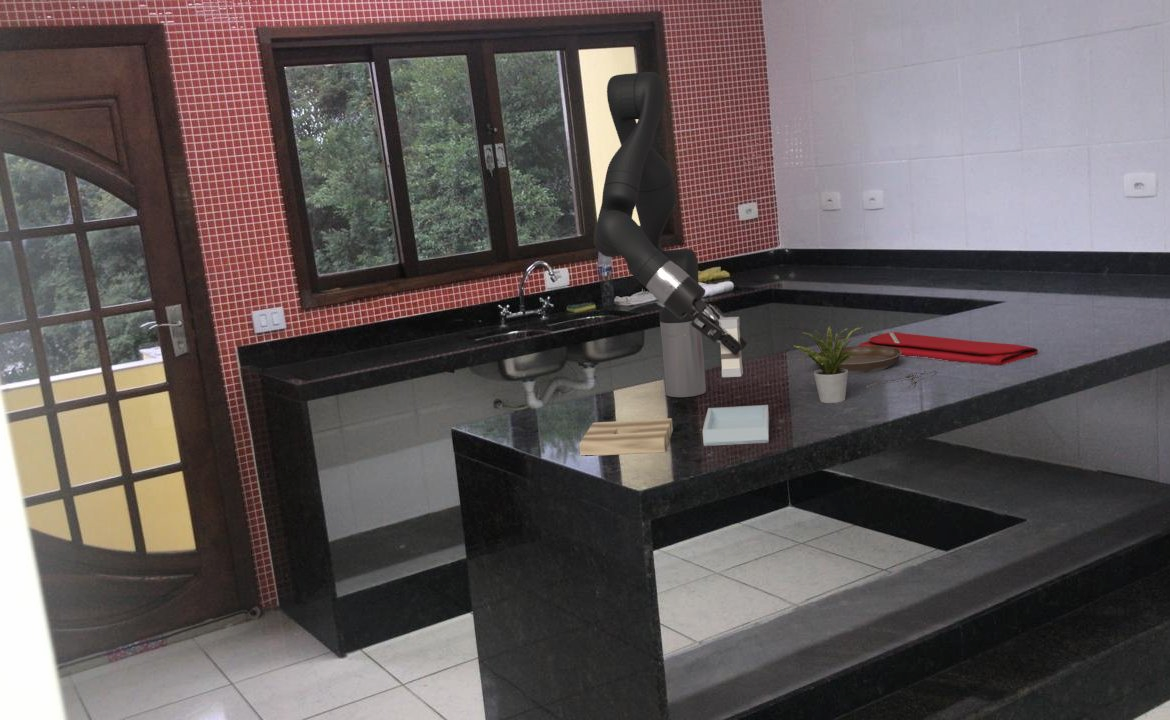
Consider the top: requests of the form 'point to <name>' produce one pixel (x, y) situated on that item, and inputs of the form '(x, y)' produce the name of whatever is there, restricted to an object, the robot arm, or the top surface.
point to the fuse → (729, 360)
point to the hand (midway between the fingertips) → (741, 348)
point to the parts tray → (736, 425)
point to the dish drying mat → (952, 348)
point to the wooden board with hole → (627, 437)
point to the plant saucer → (869, 358)
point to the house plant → (830, 366)
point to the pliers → (900, 379)
